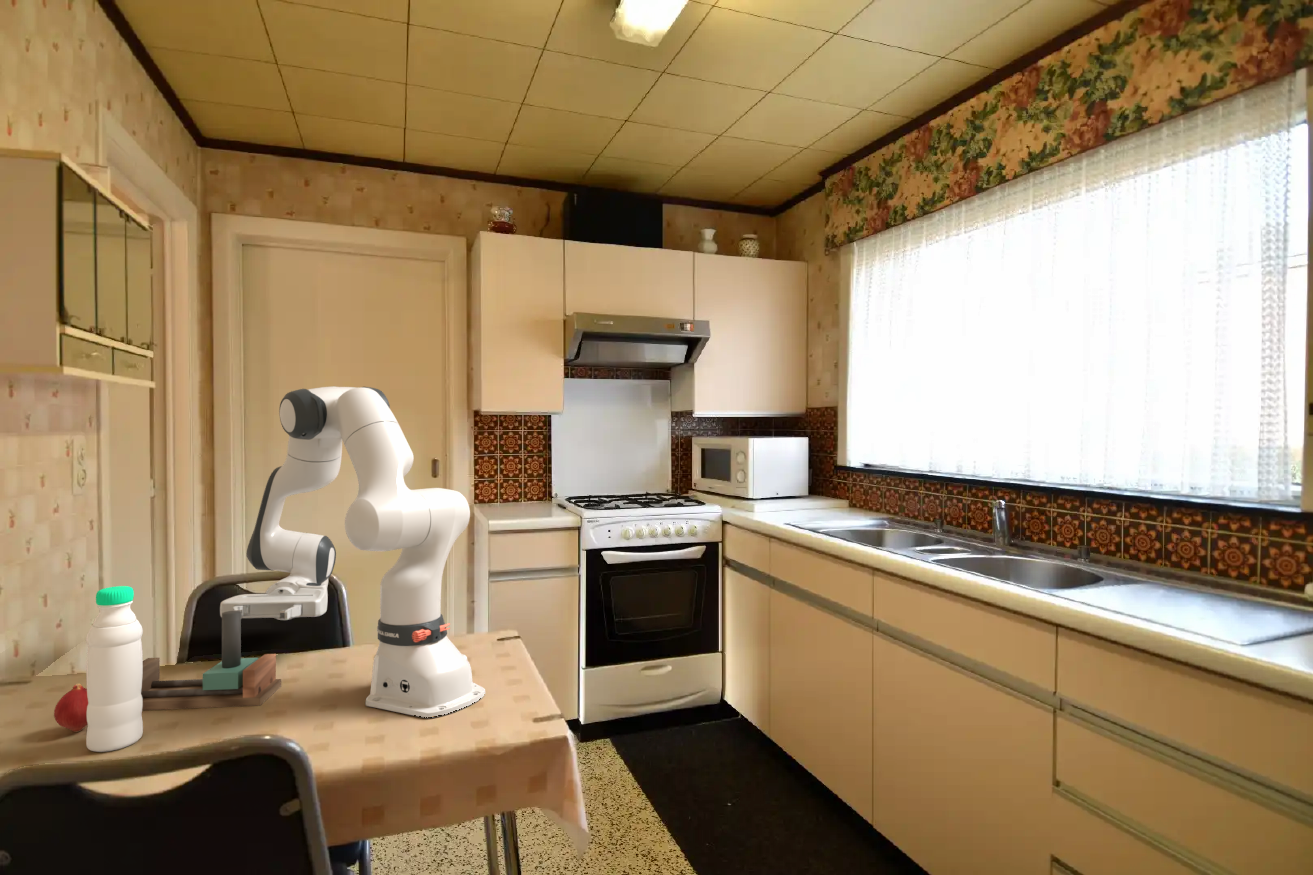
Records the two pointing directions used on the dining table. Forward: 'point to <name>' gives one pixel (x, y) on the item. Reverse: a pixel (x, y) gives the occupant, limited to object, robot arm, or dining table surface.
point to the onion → (72, 709)
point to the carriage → (228, 657)
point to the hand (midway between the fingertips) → (259, 615)
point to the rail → (191, 694)
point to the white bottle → (114, 673)
